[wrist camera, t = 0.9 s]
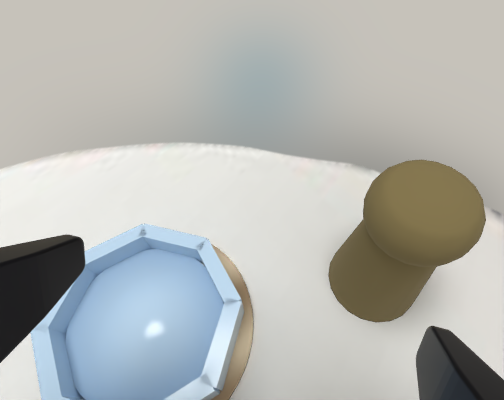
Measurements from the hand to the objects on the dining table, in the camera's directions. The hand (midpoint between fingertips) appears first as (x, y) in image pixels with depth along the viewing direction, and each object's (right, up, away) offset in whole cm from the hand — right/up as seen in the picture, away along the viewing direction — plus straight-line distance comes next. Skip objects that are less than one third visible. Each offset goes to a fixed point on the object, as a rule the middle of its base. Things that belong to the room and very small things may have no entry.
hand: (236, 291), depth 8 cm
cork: (+9, -3, +15) cm, 18 cm away
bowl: (-6, -6, +14) cm, 17 cm away
